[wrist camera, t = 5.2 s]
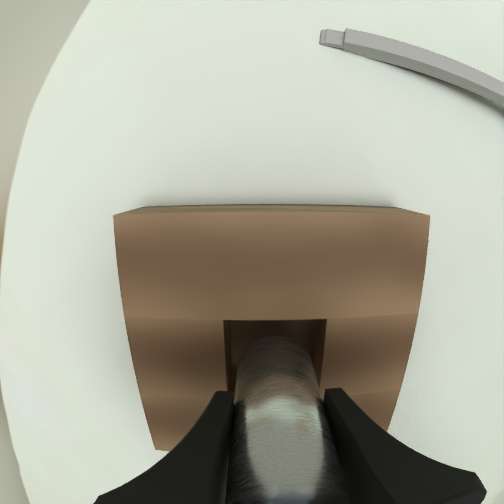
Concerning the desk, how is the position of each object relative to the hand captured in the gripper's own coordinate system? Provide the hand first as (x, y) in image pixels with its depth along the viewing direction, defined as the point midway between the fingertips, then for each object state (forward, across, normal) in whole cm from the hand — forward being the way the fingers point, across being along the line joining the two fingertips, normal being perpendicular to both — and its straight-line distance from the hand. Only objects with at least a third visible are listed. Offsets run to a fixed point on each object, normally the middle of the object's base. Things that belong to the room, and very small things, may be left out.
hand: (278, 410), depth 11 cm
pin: (+3, 0, 0) cm, 3 cm away
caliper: (+8, -13, -15) cm, 21 cm away
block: (+7, 0, 0) cm, 7 cm away
